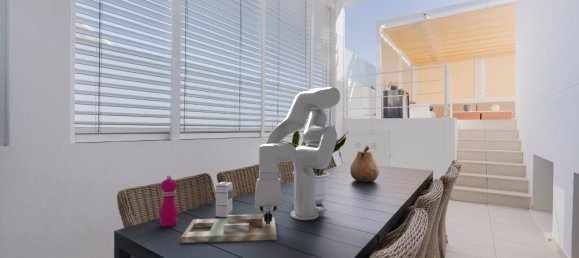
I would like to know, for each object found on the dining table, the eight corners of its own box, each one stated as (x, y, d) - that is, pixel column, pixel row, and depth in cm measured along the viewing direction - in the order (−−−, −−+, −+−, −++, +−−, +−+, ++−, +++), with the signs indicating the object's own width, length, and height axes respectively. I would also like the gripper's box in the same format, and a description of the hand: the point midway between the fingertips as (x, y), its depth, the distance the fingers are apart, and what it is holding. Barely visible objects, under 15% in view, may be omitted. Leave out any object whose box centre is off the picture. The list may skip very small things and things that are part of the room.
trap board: (274, 222, 118) (274, 211, 118) (276, 239, 100) (276, 227, 100) (193, 224, 115) (193, 213, 115) (180, 242, 97) (180, 229, 97)
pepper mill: (162, 221, 118) (163, 173, 118) (180, 220, 119) (180, 173, 118) (156, 227, 111) (156, 176, 111) (175, 227, 112) (175, 176, 111)
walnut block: (262, 222, 112) (262, 213, 112) (262, 228, 106) (262, 218, 106) (247, 222, 111) (247, 213, 111) (246, 228, 105) (246, 219, 105)
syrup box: (227, 217, 124) (228, 184, 123) (215, 216, 125) (215, 183, 124) (232, 213, 129) (233, 182, 129) (221, 212, 130) (221, 181, 130)
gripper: (286, 174, 113) (286, 219, 113) (249, 174, 111) (248, 220, 112) (288, 177, 106) (288, 226, 106) (248, 178, 104) (248, 227, 104)
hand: (268, 223), depth 109 cm, fingers closed
